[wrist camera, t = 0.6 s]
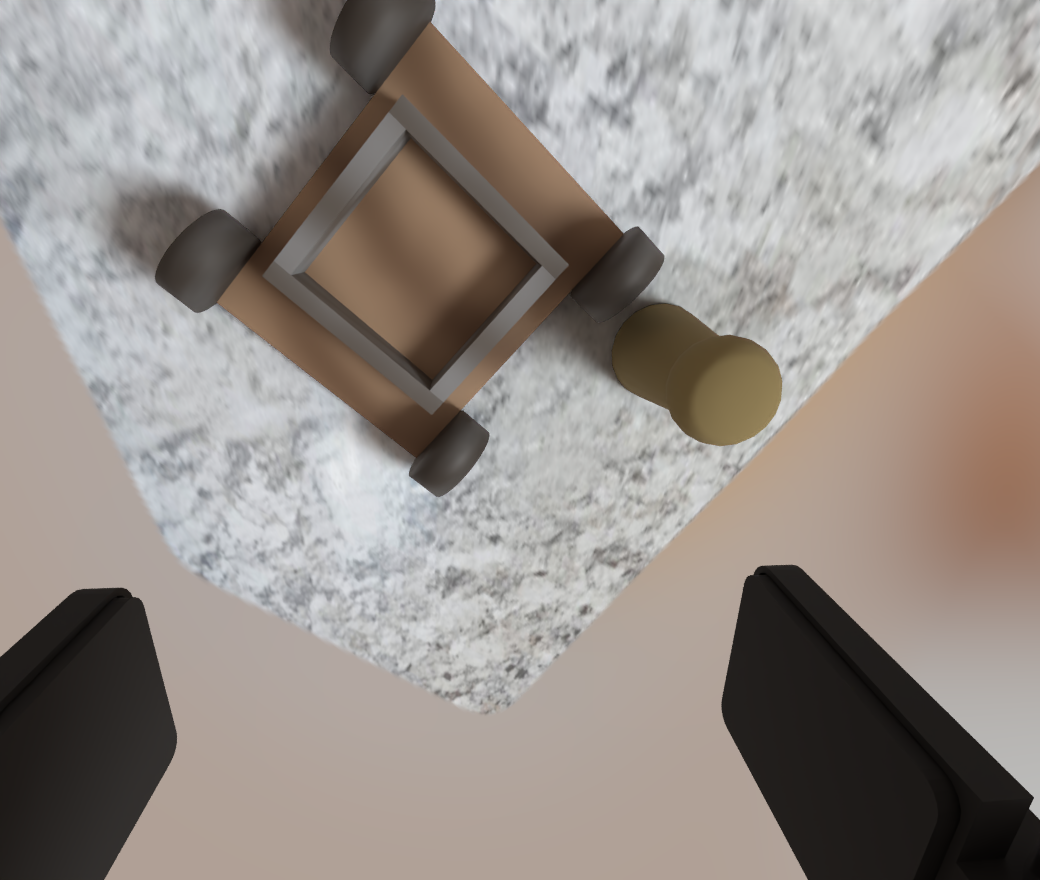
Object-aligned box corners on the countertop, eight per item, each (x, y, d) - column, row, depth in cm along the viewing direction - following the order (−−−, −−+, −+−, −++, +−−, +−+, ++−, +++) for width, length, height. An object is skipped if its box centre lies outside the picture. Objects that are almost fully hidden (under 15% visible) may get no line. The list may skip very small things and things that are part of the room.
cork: (720, 365, 35) (825, 418, 25) (639, 415, 36) (708, 487, 25) (679, 283, 33) (774, 304, 23) (594, 339, 34) (649, 383, 23)
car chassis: (406, -13, 27) (393, -66, 22) (647, 252, 32) (677, 254, 27) (188, 281, 30) (138, 289, 26) (436, 474, 36) (432, 510, 31)
